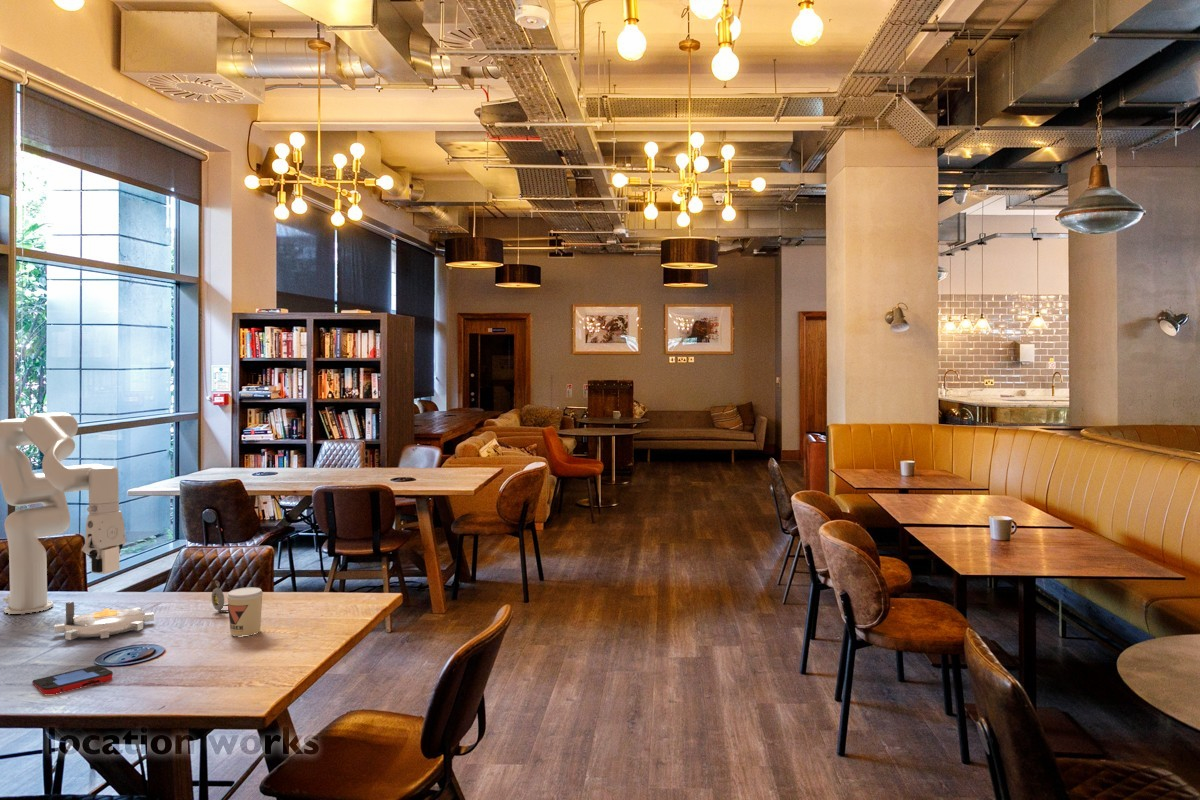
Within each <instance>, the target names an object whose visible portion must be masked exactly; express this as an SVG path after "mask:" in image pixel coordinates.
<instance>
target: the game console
mask: <svg viewBox="0 0 1200 800" xmlns="http://www.w3.org/2000/svg"><path fill="white" fill-rule="evenodd" d="M112 679H113V671H112V670H110V669H108V668H106V667H104V666H103V665H100V664H97V665H92V666H87V667H84V668H79V669H74V670H70V671H66V672H62V673H58V674H54V675H53V674H52V675H50V676H45V677H41V678H37V679H34V680H32V684H33V683H34V684H35V685H36V686H37V687H38V688H39V689H40V690H41V691H42V692H43V693H42V694H43V695H44V694H55V695H57V694H56V693H59V694H61V693H60V692H63V693H65V692H64V691H67V692H69V691H68V690H71V691H73V690H72V689H75V690H77V689H76V688H79V689H81V688H80V687H83V688H85V687H84V686H87V687H89V686H88V685H91V684H96V685H98V684H97V683H100V684H102V683H101V682H104V683H107V682H106V681H108V682H111V680H112ZM34 684H33V685H34ZM35 685H34V686H35ZM36 686H35V687H36ZM91 686H92V685H91ZM37 687H36V688H37ZM38 688H37V689H38ZM39 689H38V690H39ZM40 690H39V691H40ZM41 691H40V692H41Z"/></svg>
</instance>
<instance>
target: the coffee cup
mask: <svg viewBox="0 0 1200 800" xmlns="http://www.w3.org/2000/svg"><path fill="white" fill-rule="evenodd" d="M263 594H264V592H263V591H262V589H261V587H254V586H253V587H251V586H250V587H249V586H247V587H240V588H236V589H232V590H230V591H228V592H227V595H226V598H227V604H228V610H229V612H228V619H229V621H228V622H229V631H230V636H231V635H235V636H242V635H251V634H254V633H257V632H259V631H260V632H261V626H262V625H261V623H262V611H263V610H262V608H263V607H262V606H263ZM260 632H259V633H260Z"/></svg>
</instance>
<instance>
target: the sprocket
mask: <svg viewBox="0 0 1200 800" xmlns="http://www.w3.org/2000/svg"><path fill="white" fill-rule="evenodd" d="M154 617H155V616H154V611H153V612H144V611H143V608H142V607H133V608H131V609H130V608H129V609H125V608H124V609H111V608H109V607H108V608H103V609H101V611H95V612H89V613H86V614H82V615H78V614H77V615H76V614H75V602H74V601H69V602H66V603H65V623H60V624H54V627H53V629H54V635H57V634H64V639H65V640H70V641H71V640H75V639H77V638H95V637H96V638H97V637H99V638H100V639H108V638H110V636H111V635H116V634H117V635H118V634H122V633H126V632H128V631H137V632H138V631H140V630H143V629H144V624H145V623H146V622H153V621H155V620H154V619H155V618H154Z"/></svg>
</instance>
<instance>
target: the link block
mask: <svg viewBox="0 0 1200 800" xmlns="http://www.w3.org/2000/svg"><path fill="white" fill-rule="evenodd" d="M96 552H97V550H95V553H96ZM100 558H101V559H102V572H100V573H99V572H92V559H90V564H91V565H90V567H91V568H90V571H91V572H90V573H91V574H101V575H102V574H104V575H107V574H110V573H115V572H117V571H120V554H119V547H118V546H112V547H108V548H104V549H102V550H101V556H100Z"/></svg>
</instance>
